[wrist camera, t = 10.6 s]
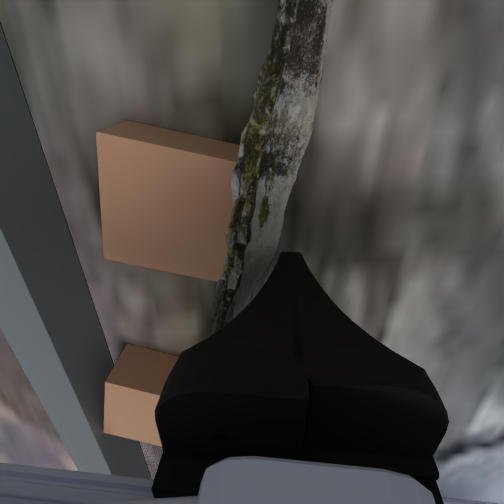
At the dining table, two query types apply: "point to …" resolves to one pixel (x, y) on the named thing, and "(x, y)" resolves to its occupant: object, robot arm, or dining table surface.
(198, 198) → the tile
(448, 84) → the dining table surface
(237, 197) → the driftwood
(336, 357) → the robot arm
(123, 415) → the tile
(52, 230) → the slate curb
